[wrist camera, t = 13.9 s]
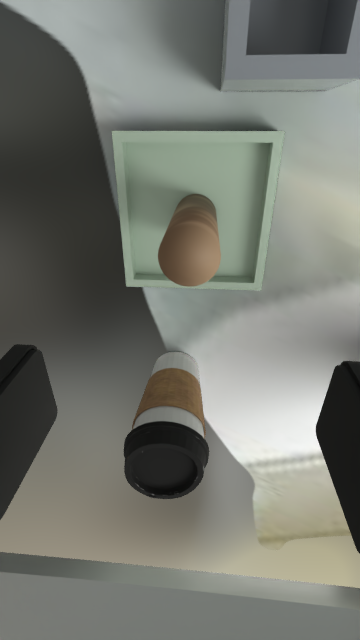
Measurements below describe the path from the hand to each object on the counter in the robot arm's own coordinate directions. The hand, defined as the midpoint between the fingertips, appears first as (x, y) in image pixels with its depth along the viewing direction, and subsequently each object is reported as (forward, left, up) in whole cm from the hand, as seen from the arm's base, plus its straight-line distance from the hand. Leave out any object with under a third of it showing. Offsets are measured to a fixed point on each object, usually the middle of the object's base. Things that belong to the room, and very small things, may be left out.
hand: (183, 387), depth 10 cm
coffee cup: (+2, +20, -25) cm, 32 cm away
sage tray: (0, 0, -25) cm, 25 cm away
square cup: (-6, -14, -25) cm, 29 cm away
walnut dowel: (0, 0, -24) cm, 24 cm away
